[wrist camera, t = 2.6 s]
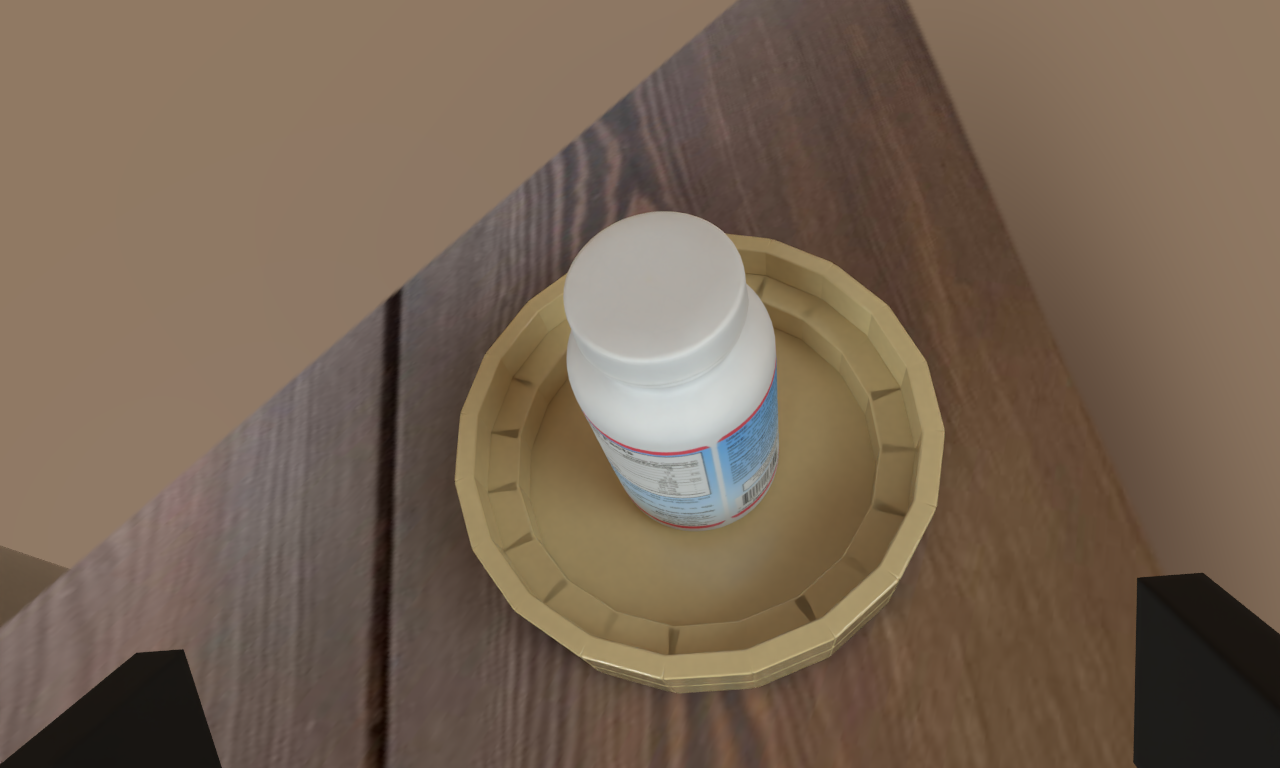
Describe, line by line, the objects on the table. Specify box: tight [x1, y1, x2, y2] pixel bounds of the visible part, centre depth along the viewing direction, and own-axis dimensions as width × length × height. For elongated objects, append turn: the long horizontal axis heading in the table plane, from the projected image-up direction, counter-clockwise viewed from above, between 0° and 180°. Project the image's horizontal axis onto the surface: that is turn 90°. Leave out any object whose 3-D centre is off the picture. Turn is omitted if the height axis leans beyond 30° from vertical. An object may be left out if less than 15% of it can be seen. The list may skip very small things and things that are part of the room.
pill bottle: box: [563, 211, 779, 531], centre depth 24 cm, size 6×6×11 cm
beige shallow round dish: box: [455, 234, 945, 693], centre depth 28 cm, size 16×16×4 cm
